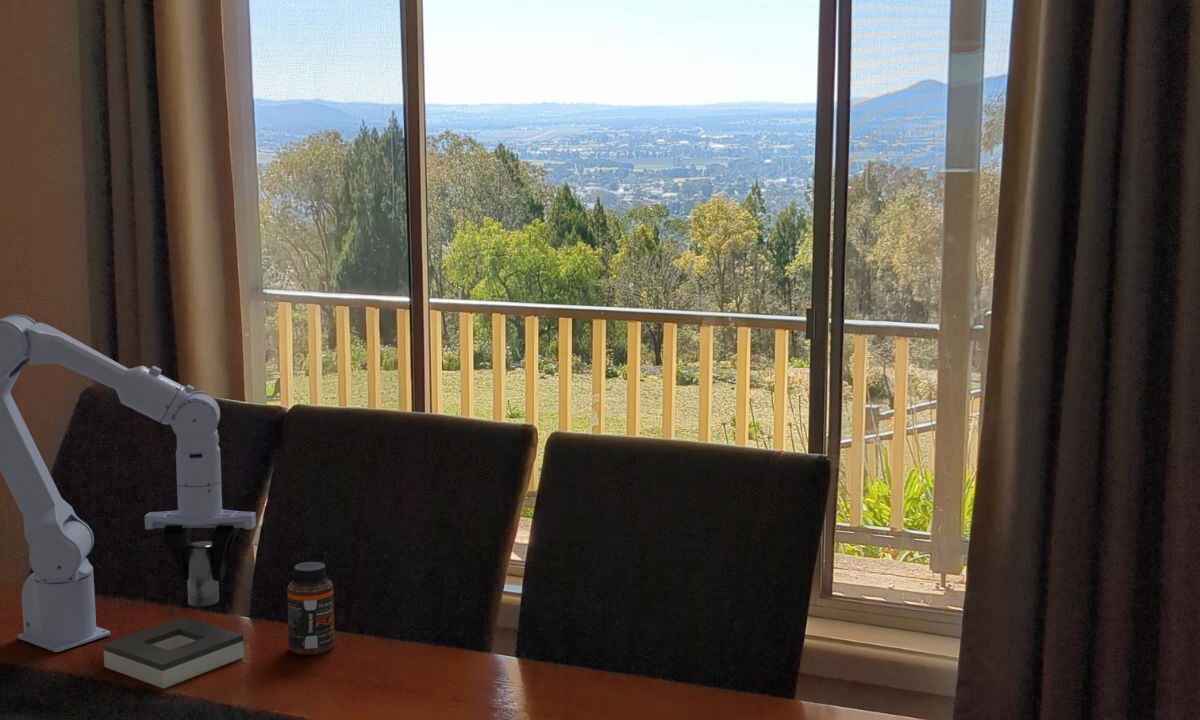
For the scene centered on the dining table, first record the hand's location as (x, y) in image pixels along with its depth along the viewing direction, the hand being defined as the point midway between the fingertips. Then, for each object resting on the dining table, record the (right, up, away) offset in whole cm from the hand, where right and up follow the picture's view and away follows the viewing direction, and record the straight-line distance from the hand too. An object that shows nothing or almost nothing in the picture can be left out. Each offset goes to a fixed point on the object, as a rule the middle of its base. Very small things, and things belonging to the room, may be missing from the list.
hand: (202, 578), depth 158 cm
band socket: (0, -9, -11) cm, 14 cm away
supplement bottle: (+17, -8, -6) cm, 20 cm away
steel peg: (0, -3, 0) cm, 3 cm away
